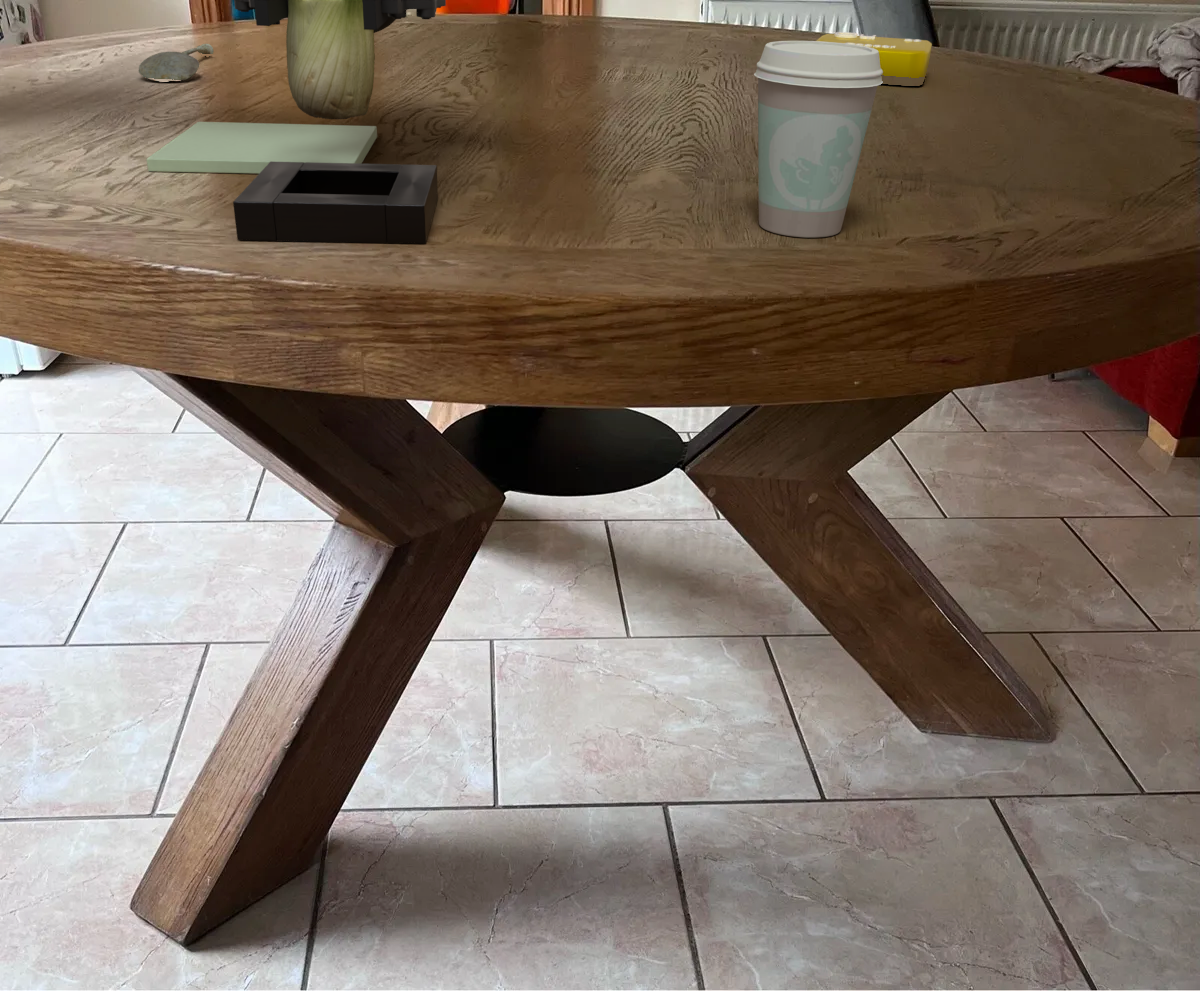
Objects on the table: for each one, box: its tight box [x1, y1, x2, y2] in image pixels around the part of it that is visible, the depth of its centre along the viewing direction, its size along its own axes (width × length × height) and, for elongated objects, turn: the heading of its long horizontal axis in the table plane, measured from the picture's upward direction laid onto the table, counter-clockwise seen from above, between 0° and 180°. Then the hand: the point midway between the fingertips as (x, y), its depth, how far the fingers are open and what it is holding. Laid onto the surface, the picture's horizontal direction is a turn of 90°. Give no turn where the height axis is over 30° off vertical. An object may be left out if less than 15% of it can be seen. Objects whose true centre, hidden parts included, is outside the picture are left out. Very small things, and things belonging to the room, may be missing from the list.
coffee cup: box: [753, 40, 883, 239], centre depth 77 cm, size 9×9×12 cm
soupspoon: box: [137, 43, 215, 81], centre depth 135 cm, size 22×3×7 cm
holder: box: [232, 162, 439, 245], centre depth 77 cm, size 12×12×2 cm
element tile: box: [815, 31, 933, 78], centre depth 150 cm, size 15×15×5 cm
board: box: [145, 121, 378, 175], centre depth 95 cm, size 16×16×1 cm
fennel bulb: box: [285, 0, 376, 120], centre depth 71 cm, size 6×5×12 cm
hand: (315, 3), depth 66 cm, fingers closed on fennel bulb, 6 cm apart
